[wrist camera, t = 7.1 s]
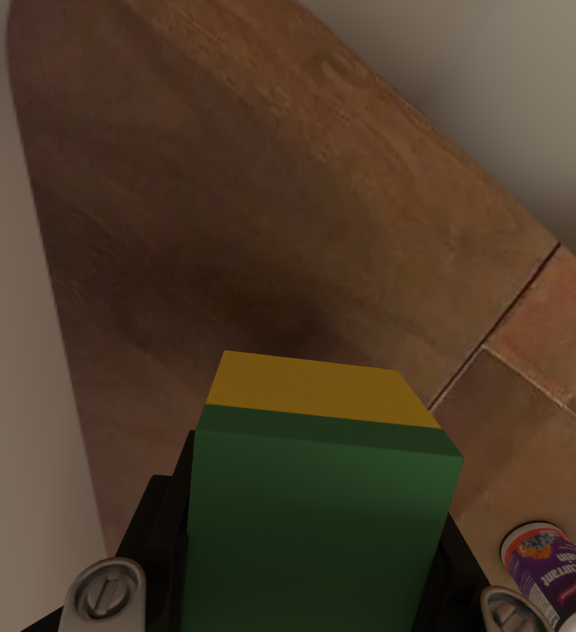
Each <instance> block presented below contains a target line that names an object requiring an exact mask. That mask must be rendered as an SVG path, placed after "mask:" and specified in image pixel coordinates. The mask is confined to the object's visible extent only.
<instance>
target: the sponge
mask: <svg viewBox="0 0 576 632" xmlns="http://www.w3.org/2000/svg"><path fill="white" fill-rule="evenodd" d="M463 462H464V457H463V455H462V454H461V453H460V451H459V450H458V449H457V447H456V446H455V445H454V444H453V442H452V441H451V440H450V438H449V437H448V436H447V435H446V433H445V432H444V431H443V430H442V429H441V427H440V426H439V424H438V423H437V422H436V420H435V419H434V418H433V416H432V415H431V414H430V413H429V411H428V410H427V409H426V407H425V406H424V405H423V403H422V402H421V401H420V400H419V398H418V397H417V396H416V394H415V393H414V392H413V390H412V389H411V388H410V387H409V385H408V384H407V383H406V381H405V380H404V379H403V377H402V376H401V375H400V374H399V372H398V371H397V370H390V369H381V368H372V367H364V366H355V365H347V364H338V363H330V362H321V361H313V360H304V359H295V358H287V357H278V356H270V355H261V354H253V353H244V352H236V351H227V350H226V351H224V353H223V355H222V358H221V361H220V364H219V367H218V369H217V372H216V375H215V378H214V381H213V383H212V386H211V389H210V392H209V395H208V397H207V400H206V403H205V406H204V408H203V411H202V414H201V417H200V420H199V422H198V425H197V428H196V431H195V440H194V452H193V464H192V476H191V488H190V500H189V512H188V524H187V535H188V536H189V544H188V555H187V567H186V579H185V590H184V602H183V614H182V626H181V632H411V630H412V627H413V624H414V620H415V617H416V614H417V611H418V607H419V604H420V601H421V598H422V594H423V591H424V588H425V585H426V582H427V578H428V575H429V572H430V569H431V565H432V562H433V559H434V556H435V553H436V549H437V546H438V543H439V540H440V537H441V533H442V530H443V527H444V524H445V520H446V517H447V514H448V511H449V507H450V504H451V501H452V498H453V494H454V491H455V488H456V485H457V482H458V478H459V475H460V472H461V469H462V465H463Z"/></svg>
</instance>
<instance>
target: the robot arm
mask: <svg viewBox="0 0 576 632" xmlns="http://www.w3.org/2000/svg"><path fill="white" fill-rule="evenodd" d="M195 431H196V430H190V432H189V434H188V436H187V439H186V442H185V444H184V447H183V450H182V452H181V455H180V457H179V460H178V463H177V465H176V468H175V470H174V473H173V476H165V475H153V476H152V477H151V479H150V481H149V483H148V486H147V488H146V490H145V492H144V494H143V496H142V499H141V501H140V503H139V505H138V507H137V509H136V512H135V514H134V516H133V518H132V520H131V522H130V525H129V527H128V529H127V531H126V533H125V535H124V538H123V540H122V542H121V544H120V546H119V548H118V551H117V553H116V555H115V557H111V558H107V559H104V560H100V561H98V562H96V563H95V564H93V565H91V566H89V567H88V568H86V569H85V570H84V571H83V572H81V573H80V574H79V575H78V576H77V578H76V579H75V580H74V582H73V583H72V584H71V585H70V588H69V590H68V593H67V595H66V598H65V603H64V606H62V607H60V608H59V609H57V610H55V611H54V612H52V613H50V614H49V615H47V616H45V617H44V618H42V619H40V620H39V621H37V622H35V623H34V624H32V625H30V626H29V627H27V628H26V629H24V630H22V631H21V632H181V626H182V614H183V602H184V590H185V579H186V567H187V555H188V544H189V536H188V535H187V524H188V512H189V500H190V488H191V476H192V464H193V452H194V440H195ZM411 632H554V630H553V628H552V626H551V624H550V623H549V621H548V619H547V618H546V617H545V615H544V614H543V613H542V612H541V611H540V609H539V608H538V607H537V606H535V605H534V604H533V603H532V602H531V601H530V600H529V599H527V598H526V597H524V596H523V595H521V594H520V593H518V592H516V591H514V590H512V589H509V588H507V587H503V586H498V585H495V586H491V584H490V583H489V581H488V579H487V578H486V576H485V574H484V572H483V571H482V569H481V567H480V565H479V564H478V562H477V560H476V559H475V557H474V555H473V553H472V552H471V550H470V548H469V546H468V545H467V543H466V541H465V539H464V538H463V536H462V534H461V533H460V531H459V529H458V527H457V526H456V524H455V522H454V520H453V519H452V517H451V515H450V514H449V512H448V514H447V517H446V520H445V524H444V527H443V530H442V533H441V537H440V540H439V543H438V546H437V549H436V553H435V556H434V559H433V562H432V565H431V569H430V572H429V575H428V578H427V582H426V585H425V588H424V591H423V594H422V598H421V601H420V604H419V607H418V611H417V614H416V617H415V620H414V624H413V627H412V630H411Z"/></svg>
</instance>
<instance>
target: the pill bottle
mask: <svg viewBox="0 0 576 632" xmlns="http://www.w3.org/2000/svg"><path fill="white" fill-rule="evenodd" d="M501 558H502V562H503V564H504V566H505V567H506V569H507V571H508V572H509V574H510V575H511V577H512V578H513V580H514V582H515V583H516V585H517V586H518V588H519V589H520V591H521V592H522V594H523V596H524V597H526V598H527V599H529V600H530V601H531V602H532V603H533V604H534V605H535V606H537V607H538V608H539V609H540V611H541V612H542V613H543V614H544V615H545V617H546V618H547V619H548V621H549V623H550V624H551V626H552V628H553V630H554V632H576V546H575V545H574V544H573V543H572V542H571V541H570V539H569V538H568V537H567V536H566V535H565V534H564V533H563V532H562V531H561V530H560V529H558V528H557V527H555V526H553V525H551V524H547V523H531V524H527V525H524V526H522V527H520V528H518V529H516V530H515V531H513V532H512V533H511V534H510V535H509V536H508V537H507V538H506V540H505V541H504V543H503V546H502V549H501Z"/></svg>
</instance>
